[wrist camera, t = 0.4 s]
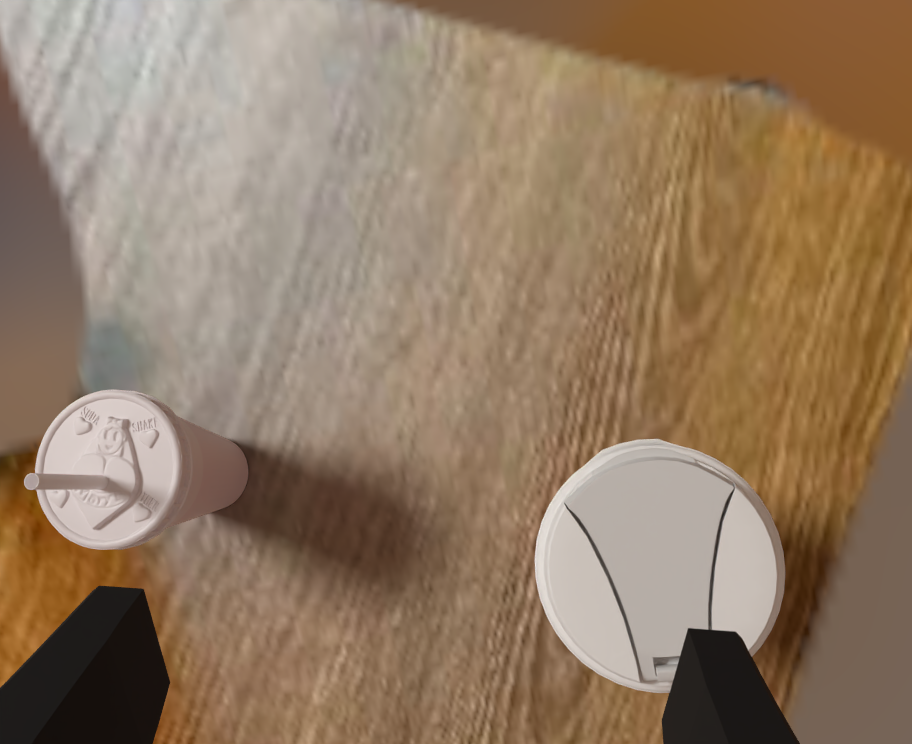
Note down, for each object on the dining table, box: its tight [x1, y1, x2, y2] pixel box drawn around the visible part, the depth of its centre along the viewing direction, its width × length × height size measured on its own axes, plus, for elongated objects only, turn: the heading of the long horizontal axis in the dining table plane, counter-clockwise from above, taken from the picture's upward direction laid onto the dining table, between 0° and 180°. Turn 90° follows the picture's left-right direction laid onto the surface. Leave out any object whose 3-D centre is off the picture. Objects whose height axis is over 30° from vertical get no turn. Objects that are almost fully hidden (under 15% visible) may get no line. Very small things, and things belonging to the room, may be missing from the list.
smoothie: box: [24, 390, 248, 550], centre depth 35 cm, size 6×6×14 cm
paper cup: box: [535, 439, 785, 693], centre depth 32 cm, size 8×8×14 cm
